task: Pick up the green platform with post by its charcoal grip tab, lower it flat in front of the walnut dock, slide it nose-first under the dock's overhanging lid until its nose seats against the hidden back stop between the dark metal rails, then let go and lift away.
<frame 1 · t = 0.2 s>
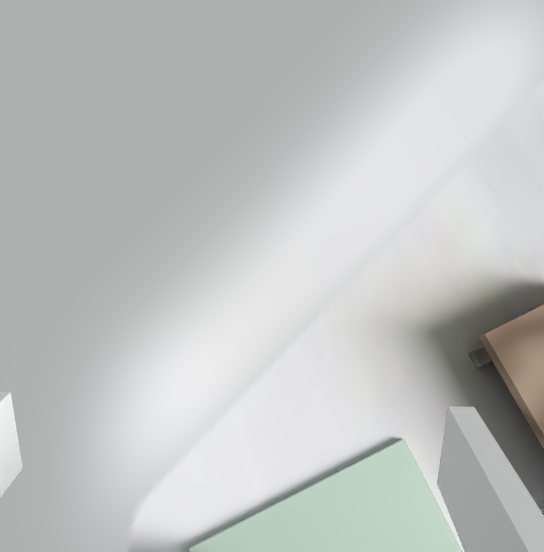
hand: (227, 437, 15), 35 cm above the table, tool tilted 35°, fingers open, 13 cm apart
dock: (515, 436, 48), on the table
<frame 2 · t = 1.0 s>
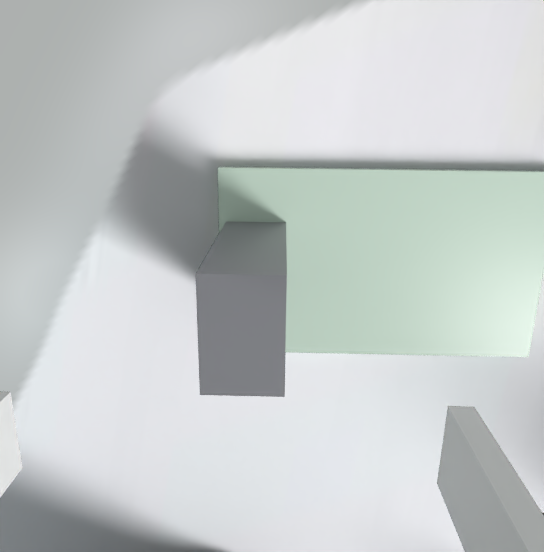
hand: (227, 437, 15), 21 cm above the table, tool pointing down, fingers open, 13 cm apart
green platform with post: (377, 262, 35), on the table
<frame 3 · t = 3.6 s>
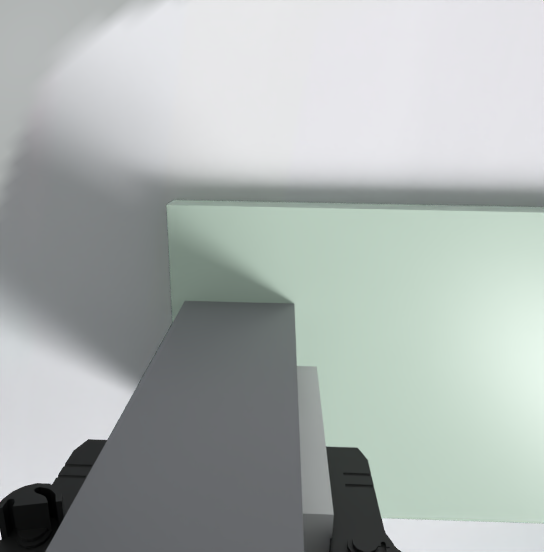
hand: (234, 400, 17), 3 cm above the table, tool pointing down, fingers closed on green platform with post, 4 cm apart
green platform with post: (454, 366, 20), on the table, touching gripper
when the fingers open (4 cm above the table, at t = 11.1 s): green platform with post stays where it is, on the table.
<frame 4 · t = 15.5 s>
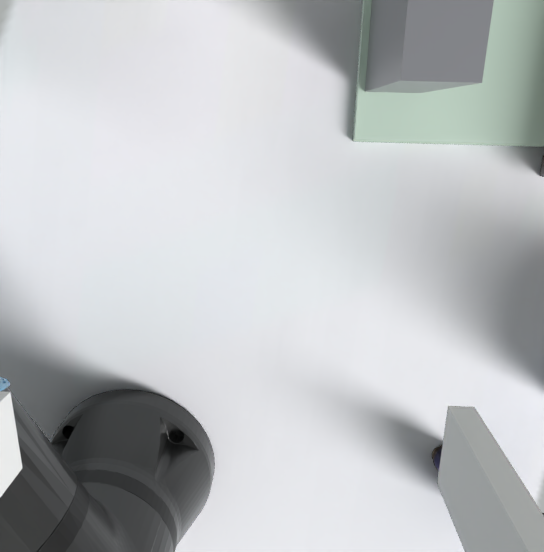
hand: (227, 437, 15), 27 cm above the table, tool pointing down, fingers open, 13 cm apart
green platform with post: (511, 51, 36), on the table
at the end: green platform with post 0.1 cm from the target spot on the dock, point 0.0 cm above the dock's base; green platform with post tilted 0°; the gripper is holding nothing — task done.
